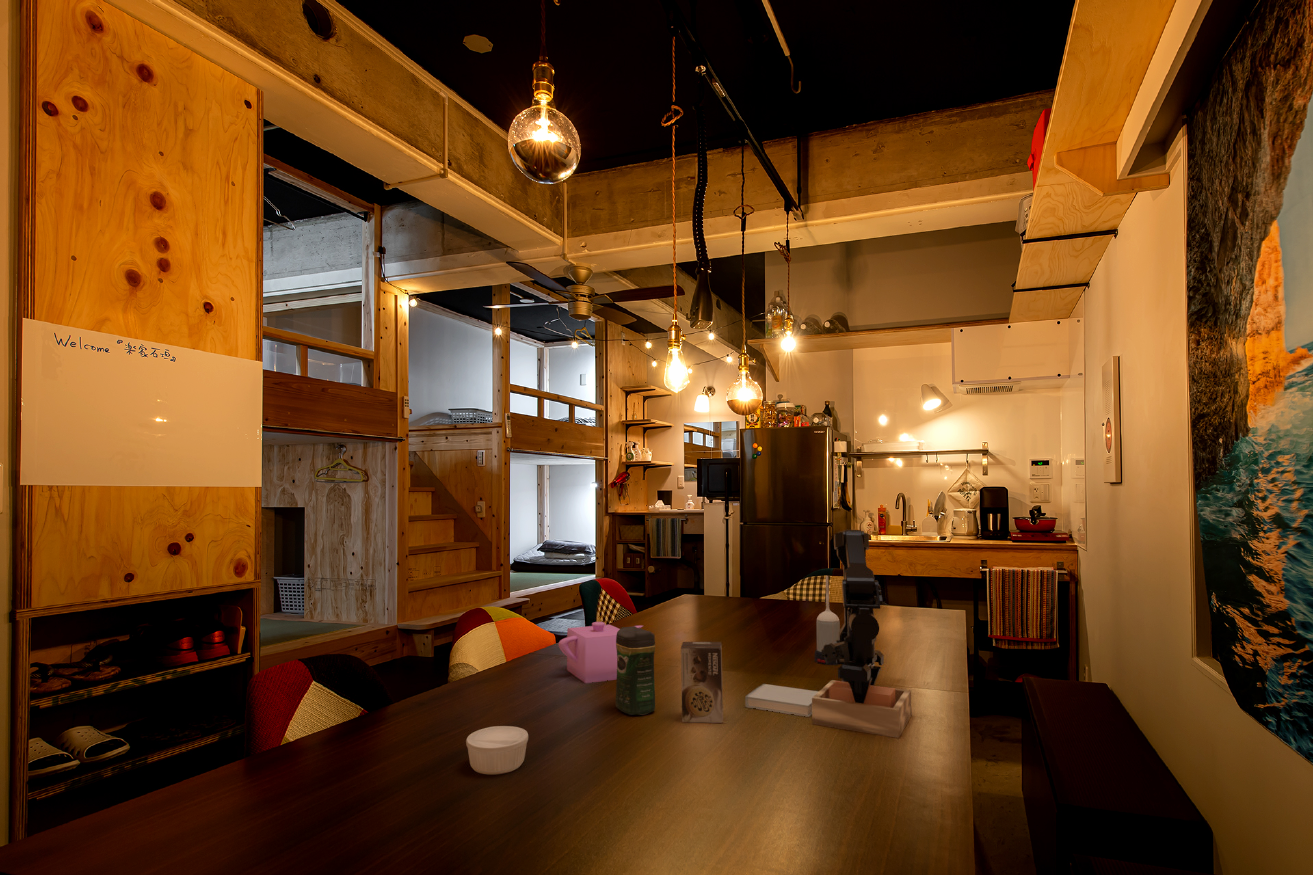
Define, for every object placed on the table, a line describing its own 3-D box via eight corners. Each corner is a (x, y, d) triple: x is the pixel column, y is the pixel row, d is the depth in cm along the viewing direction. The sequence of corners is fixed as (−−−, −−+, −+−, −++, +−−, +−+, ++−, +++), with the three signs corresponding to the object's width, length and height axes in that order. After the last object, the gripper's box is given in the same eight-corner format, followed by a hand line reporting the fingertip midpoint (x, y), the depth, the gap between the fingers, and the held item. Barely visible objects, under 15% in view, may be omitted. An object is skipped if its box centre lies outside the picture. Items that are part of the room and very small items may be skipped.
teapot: (654, 674, 191) (654, 623, 192) (567, 685, 180) (568, 630, 181) (632, 662, 205) (632, 614, 206) (550, 672, 194) (550, 621, 195)
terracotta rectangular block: (836, 698, 159) (836, 680, 159) (895, 706, 153) (895, 688, 153) (829, 705, 154) (829, 687, 154) (890, 714, 147) (890, 695, 148)
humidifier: (815, 664, 202) (813, 577, 204) (813, 657, 210) (812, 574, 212) (844, 665, 201) (842, 578, 203) (841, 658, 209) (839, 574, 211)
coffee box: (722, 714, 157) (722, 641, 158) (722, 723, 150) (722, 647, 152) (682, 713, 158) (682, 640, 159) (680, 722, 151) (680, 646, 152)
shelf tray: (832, 703, 164) (831, 680, 165) (911, 715, 156) (911, 690, 156) (812, 724, 150) (811, 697, 150) (898, 738, 141) (898, 710, 142)
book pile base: (763, 694, 172) (763, 683, 172) (823, 702, 165) (823, 692, 165) (745, 707, 162) (745, 696, 162) (808, 717, 155) (808, 705, 155)
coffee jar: (660, 712, 158) (660, 629, 159) (630, 718, 154) (630, 633, 155) (640, 701, 166) (640, 622, 167) (610, 706, 162) (611, 625, 163)
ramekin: (473, 782, 120) (473, 750, 121) (459, 760, 130) (460, 731, 131) (535, 770, 125) (536, 740, 126) (518, 750, 135) (518, 722, 136)
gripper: (835, 621, 166) (836, 688, 165) (813, 635, 150) (814, 710, 149) (883, 626, 161) (885, 695, 160) (866, 641, 145) (867, 718, 144)
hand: (862, 703), depth 153 cm, fingers closed on terracotta rectangular block, 6 cm apart
